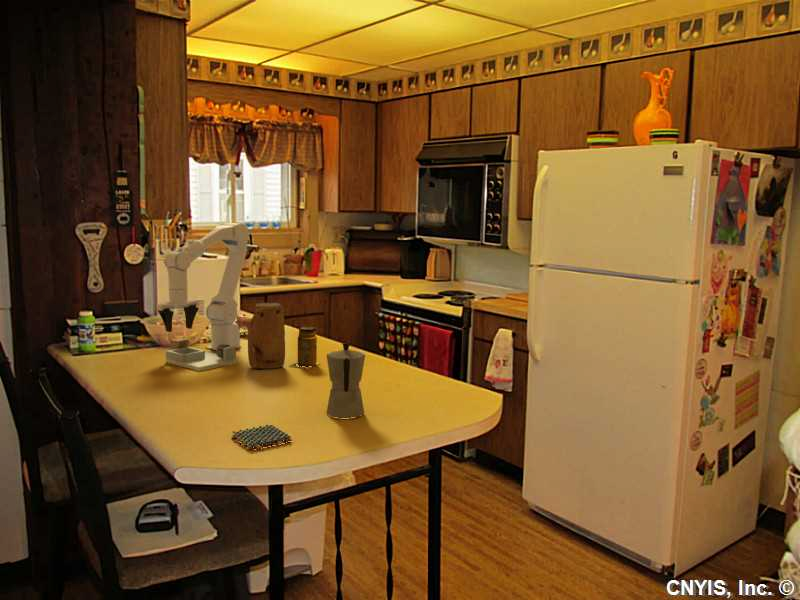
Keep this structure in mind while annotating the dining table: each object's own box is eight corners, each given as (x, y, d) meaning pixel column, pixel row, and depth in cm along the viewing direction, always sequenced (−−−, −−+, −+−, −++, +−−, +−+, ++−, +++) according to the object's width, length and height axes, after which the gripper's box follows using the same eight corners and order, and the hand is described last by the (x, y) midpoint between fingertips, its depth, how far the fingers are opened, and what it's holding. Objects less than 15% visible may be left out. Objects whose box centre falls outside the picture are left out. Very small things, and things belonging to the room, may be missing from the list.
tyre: (227, 356, 220) (227, 343, 220) (231, 357, 219) (231, 343, 219) (216, 358, 217) (216, 345, 216) (220, 359, 216) (220, 346, 215)
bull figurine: (241, 331, 270) (241, 311, 269) (258, 337, 260) (258, 316, 259) (231, 332, 267) (231, 312, 266) (247, 338, 257) (247, 317, 256)
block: (279, 363, 219) (279, 301, 217) (286, 368, 213) (286, 304, 210) (246, 366, 215) (245, 303, 212) (252, 371, 208) (251, 306, 205)
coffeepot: (326, 406, 175) (326, 337, 172) (363, 405, 175) (364, 337, 173) (325, 425, 159) (326, 350, 157) (366, 425, 160) (367, 350, 158)
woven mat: (249, 455, 142) (249, 445, 141) (229, 440, 150) (229, 431, 150) (294, 445, 148) (294, 436, 148) (272, 431, 156) (272, 422, 156)
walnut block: (180, 355, 227) (180, 337, 226) (189, 357, 224) (188, 339, 224) (170, 357, 224) (169, 339, 223) (178, 359, 221) (178, 341, 220)
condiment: (321, 363, 220) (322, 327, 218) (308, 369, 212) (308, 331, 210) (302, 361, 223) (302, 325, 221) (288, 366, 215) (288, 329, 213)
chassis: (205, 354, 229) (205, 338, 228) (238, 362, 219) (238, 346, 218) (166, 362, 217) (165, 345, 216) (199, 371, 207) (198, 353, 206)
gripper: (189, 285, 229) (190, 325, 231) (150, 289, 218) (152, 331, 220) (202, 287, 225) (203, 328, 227) (163, 291, 213) (165, 334, 215)
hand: (179, 329), depth 223 cm, fingers open, 7 cm apart
